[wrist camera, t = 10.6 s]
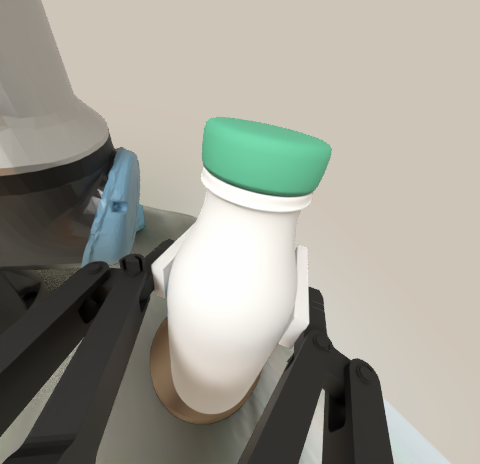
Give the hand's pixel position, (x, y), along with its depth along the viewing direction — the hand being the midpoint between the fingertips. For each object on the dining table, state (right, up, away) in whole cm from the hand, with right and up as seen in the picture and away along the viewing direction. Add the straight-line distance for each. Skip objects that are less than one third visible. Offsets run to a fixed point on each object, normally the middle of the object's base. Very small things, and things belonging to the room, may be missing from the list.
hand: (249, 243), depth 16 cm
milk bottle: (-3, -12, +2) cm, 12 cm away
